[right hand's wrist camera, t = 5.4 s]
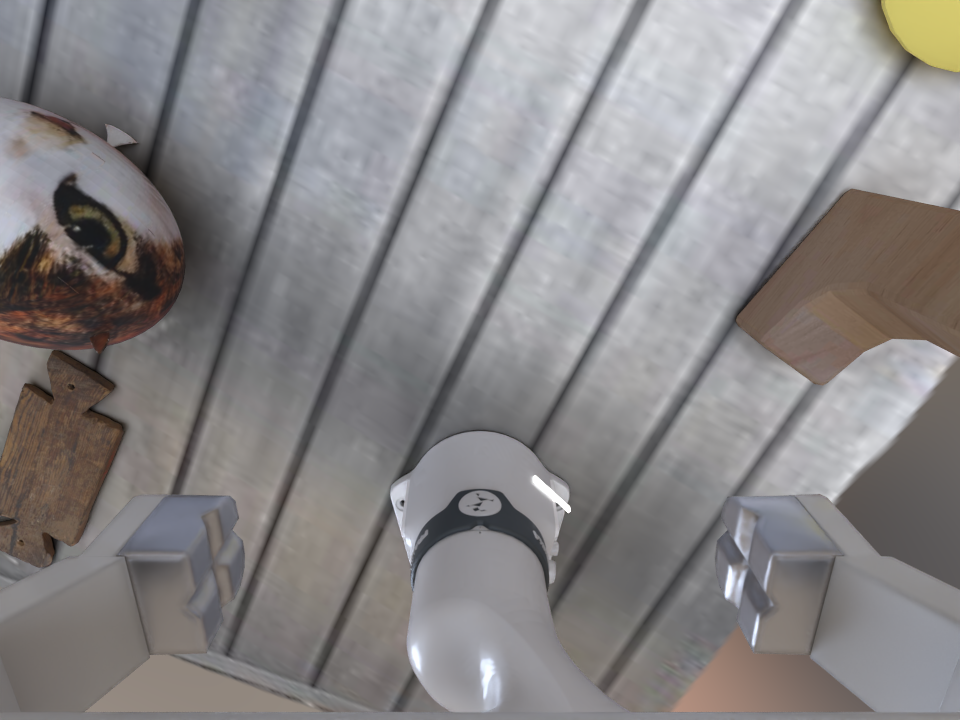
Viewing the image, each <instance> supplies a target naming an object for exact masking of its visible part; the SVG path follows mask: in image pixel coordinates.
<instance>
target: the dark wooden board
mask: <svg viewBox="0 0 960 720" xmlns="http://www.w3.org/2000/svg"><path fill="white" fill-rule="evenodd" d="M47 369H48V374H49V378H50V382H51V389H52V393H53V397H54V398H52V397H51V396H48V395H47V394H46V393H45V392H43V391H42V390H40V389H39V388H37V387H35V386H33V385H31V384H26V383H25V385H24V386H23V388H22V392H21V394H20V397H19V401H18V404H17V407H16V410H15V414H14V418H13V421H12V423H11V426H10V430H9V433H8V436H7V440H6V443H5V447H4V450H3V454H2V457H1V460H0V516H5V517H8V518H12V519H14V520H9V521H5V522H1V523H0V550H1V551H3V552H6V553H7V554H9V555H11V556H14V557H17V558H18V559H20V560H22V561H24V562H27V563H30V564H31V565H34V566H36V567H39V568H40V567H46V566H49V565H50V564H51V562H52V559H53V555H54V553H55V551H54V549H53V543H52V540H51V536H52V537H54V538H55V539H58V540H60V541H63V542H64V543H66V544H67V545H69V546H73V545H75V544H77V543H78V542H79V540H80V538H81V536H82V534H83V532H84V529H85V526H86V524H87V521H88V518H89V514H90V511H91V508H92V506H93V504H94V502H95V499H96V497H97V495H98V493H99V490H100V488H101V486H102V484H103V481H104V479H105V477H106V475H107V473H108V471H109V468H110V466H111V463H112V461H113V459H114V456H115V454H116V451H117V449H118V446H119V444H120V441H121V439H122V436H123V433H124V431H123V430H122V426H121V425H120V424H119V423H117V422H115V421H112V420H111V419H109V418H107V417H105V416H103V415H100V414H97V413H95V412H93V411H90V410H89V408H90V407H91V406H93V405H95V404H96V403H98V402H99V401H101V400H102V399H103V398H105V397H106V396H107V395H108V394H109V393H111V392H112V391H113V389H114V387H115V386H114V385H113V384H112V383H111V382H109V381H108V380H106V379H105V378H103V377H102V376H101V375H99V374H98V373H96V372H94V371H92V370H90V369H89V368H87V367H86V366H84V365H82V364H81V363H79V362H77V361H76V360H74V359H72V358H70V357H68V356H66V355H65V354H63V353H62V352H60V351H58V350H54V351H52V353H51V355H50V357H49V359H48V362H47ZM50 535H51V536H50Z"/></svg>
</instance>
